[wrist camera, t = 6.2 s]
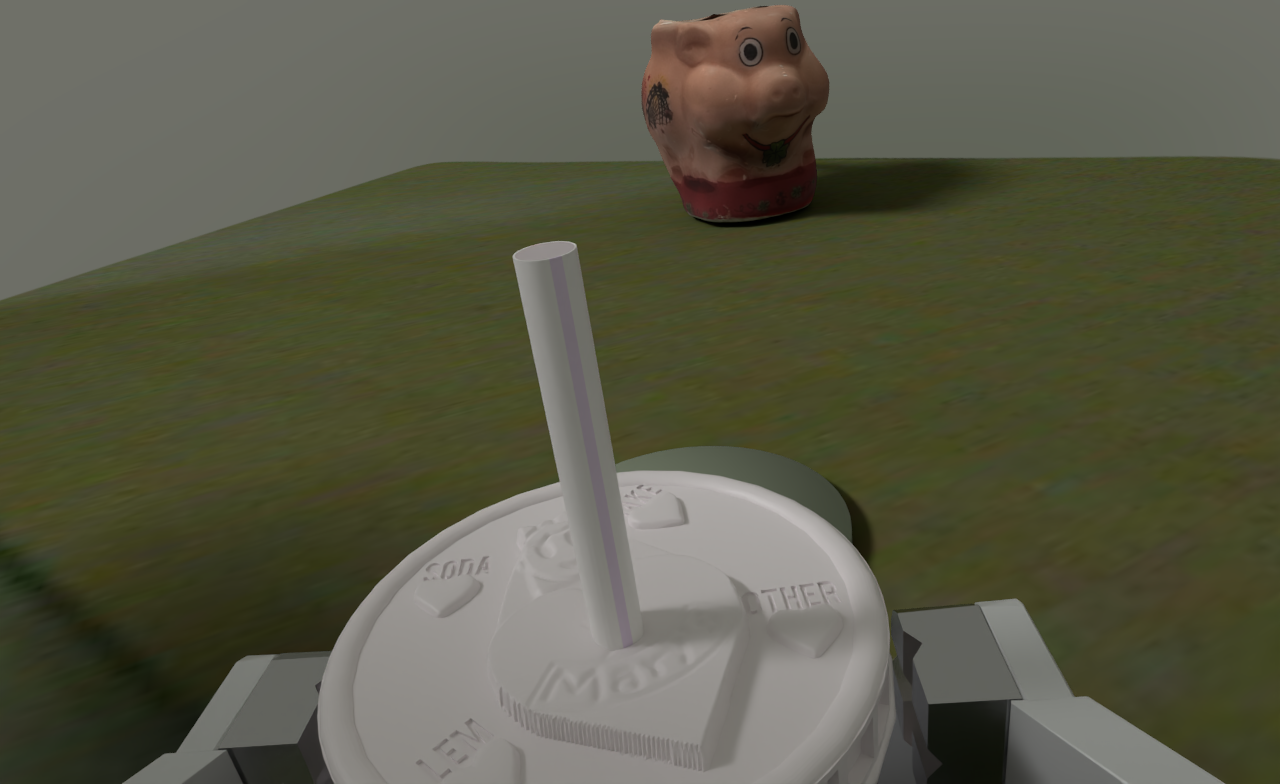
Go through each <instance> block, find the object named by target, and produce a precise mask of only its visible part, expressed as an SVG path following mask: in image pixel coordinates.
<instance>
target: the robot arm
mask: <svg viewBox="0 0 1280 784" xmlns="http://www.w3.org/2000/svg"><path fill="white" fill-rule="evenodd" d="M891 636H892V639H893V642H894V645H895V649H896V652H897V657H896V658H895V659H894V660H893V661H892V663H893V677H894V692H895V707H896V712H897V716H898V721H899V725H900V729H901V732H902V736H903V739H904V741H906V742H907V743H908V744H909V745H910V746H912V771H913V774H914V777H915V781H916V784H1225V783H1223V782H1222V781H1220V780H1219V779H1217V778H1216V777H1214V776H1212V775H1211V774H1209V773H1208V772H1206V771H1205V770H1203V769H1201V768H1200V767H1198V766H1197V765H1195V764H1193V763H1192V762H1190V761H1189V760H1187V759H1186V758H1184V757H1182V756H1181V755H1179V754H1178V753H1176V752H1175V751H1173V750H1171V749H1170V748H1168V747H1167V746H1165V745H1164V744H1162V743H1160V742H1159V741H1157V740H1156V739H1154V738H1153V737H1151V736H1149V735H1148V734H1146V733H1145V732H1143V731H1142V730H1140V729H1138V728H1137V727H1135V726H1134V725H1132V724H1131V723H1129V722H1127V721H1126V720H1124V719H1123V718H1121V717H1119V716H1118V715H1116V714H1115V713H1113V712H1112V711H1110V710H1108V709H1107V708H1105V707H1104V706H1102V705H1101V704H1099V703H1097V702H1096V701H1094V700H1093V699H1091V698H1090V697H1075V696H1074V695H1073V693H1072V691H1071V689H1070V687H1069V686H1068V684H1067V682H1066V680H1065V678H1064V677H1063V675H1062V673H1061V671H1060V669H1059V668H1058V666H1057V664H1056V662H1055V660H1054V659H1053V657H1052V655H1051V653H1050V651H1049V650H1048V648H1047V646H1046V644H1045V642H1044V640H1043V639H1042V637H1041V635H1040V633H1039V631H1038V630H1037V628H1036V626H1035V624H1034V622H1033V621H1032V619H1031V617H1030V615H1029V613H1028V612H1027V610H1026V608H1025V606H1024V604H1023V603H1021V602H1020V601H1019V600H1017V599H1008V600H997V601H987V602H976V603H975V604H960V605H948V606H936V607H923V608H911V609H899V610H893V612H892V618H891ZM331 653H332V651H320V652H299V653H282V654H274V655H253V656H246V657H244V658H243V659H241V660H239V661H237V662H236V663H235V665H234V666H233V668H232V669H231V671H230V672H229V674H228V675H227V677H226V678H225V680H224V681H223V683H222V684H221V686H220V687H219V689H218V690H217V692H216V693H215V695H214V696H213V698H212V699H211V701H210V702H209V704H208V705H207V707H206V708H205V710H204V711H203V713H202V714H201V716H200V717H199V719H198V720H197V722H196V723H195V725H194V726H193V728H192V729H191V731H190V732H189V734H188V735H187V737H186V738H185V740H184V741H183V743H182V744H181V746H180V747H179V749H178V750H177V752H176V753H168V754H163V755H162V756H161V757H159V758H158V759H156V760H155V761H153V762H152V763H151V764H149V765H148V766H146V767H145V768H144V769H142V770H141V771H139V772H138V773H136V774H135V775H134V776H132V777H131V778H129V779H128V780H126V781H125V782H124V783H122V784H334V783H333V781H332V778H331V776H330V773H329V771H328V768H327V766H326V763H325V761H324V758H323V754H322V749H321V745H320V741H319V734H318V720H317V714H318V700H319V693H320V688H321V683H322V678H323V675H324V672H325V669H326V666H327V663H328V660H329V657H330V655H331Z"/></svg>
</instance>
